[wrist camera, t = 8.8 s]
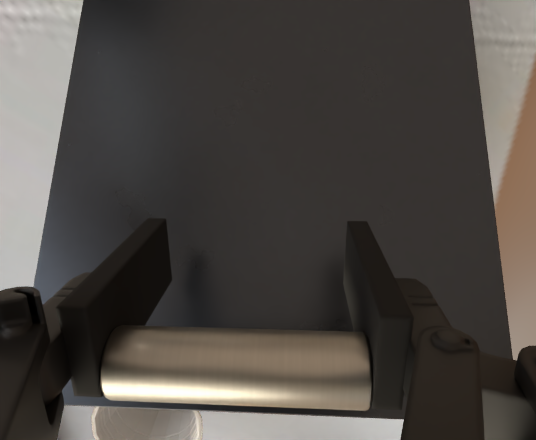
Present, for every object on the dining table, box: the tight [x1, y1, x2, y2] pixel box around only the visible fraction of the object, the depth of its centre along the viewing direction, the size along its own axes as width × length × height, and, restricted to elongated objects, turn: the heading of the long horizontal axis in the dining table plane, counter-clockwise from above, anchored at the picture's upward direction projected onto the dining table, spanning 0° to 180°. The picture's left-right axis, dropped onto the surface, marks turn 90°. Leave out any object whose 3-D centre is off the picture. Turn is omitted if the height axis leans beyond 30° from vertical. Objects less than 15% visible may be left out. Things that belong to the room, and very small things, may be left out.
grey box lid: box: [33, 0, 513, 419], centre depth 17 cm, size 23×22×9 cm
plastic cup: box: [91, 407, 202, 440], centre depth 45 cm, size 11×11×12 cm
